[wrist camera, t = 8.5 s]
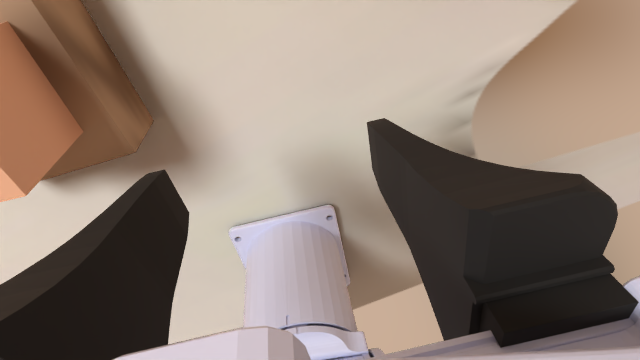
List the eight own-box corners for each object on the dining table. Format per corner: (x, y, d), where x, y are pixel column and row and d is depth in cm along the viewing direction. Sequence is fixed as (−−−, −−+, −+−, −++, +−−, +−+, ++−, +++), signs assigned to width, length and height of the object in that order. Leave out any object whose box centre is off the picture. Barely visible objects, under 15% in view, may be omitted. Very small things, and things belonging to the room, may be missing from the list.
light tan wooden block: (155, 118, 21) (135, 152, 18) (16, 160, 21) (-29, 201, 18) (48, -59, 16) (-8, -56, 12) (-135, 1, 16) (-236, 19, 13)
